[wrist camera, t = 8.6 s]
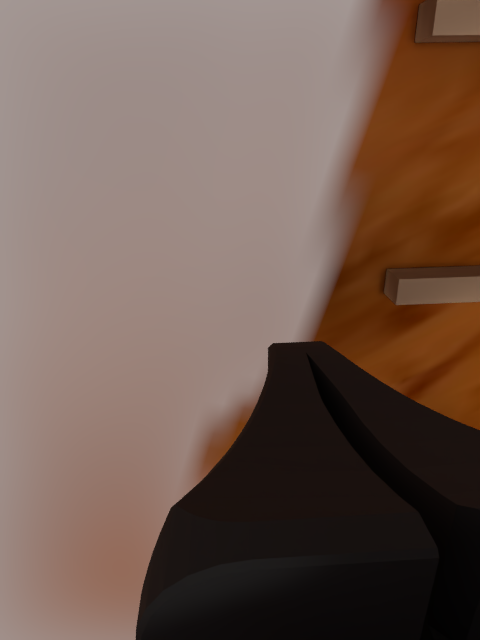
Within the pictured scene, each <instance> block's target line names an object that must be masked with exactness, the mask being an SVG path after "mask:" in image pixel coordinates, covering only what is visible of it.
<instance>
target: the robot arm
mask: <svg viewBox="0 0 480 640" xmlns="http://www.w3.org/2000/svg"><path fill="white" fill-rule="evenodd" d="M136 640H480V430H477V429H475V428H472V427H470V426H467V425H465V424H462V423H460V422H457V421H455V420H453V419H451V418H448V417H446V416H444V415H442V414H440V413H438V412H436V411H433V410H431V409H429V408H427V407H425V406H423V405H421V404H419V403H417V402H415V401H413V400H412V399H410V398H408V397H406V396H404V395H403V394H401V393H399V392H397V391H396V390H394V389H392V388H391V387H389V386H387V385H386V384H384V383H382V382H381V381H379V380H378V379H376V378H375V377H373V376H372V375H370V374H369V373H367V372H366V371H364V370H363V369H361V368H360V367H358V366H357V365H355V364H354V363H353V362H351V361H350V360H348V359H347V358H346V357H344V356H343V355H341V354H340V353H339V352H337V351H336V350H334V349H333V348H332V347H330V346H329V345H327V344H326V343H324V342H322V341H317V342H293V343H273V344H272V345H271V346H270V347H268V374H267V377H266V381H265V384H264V387H263V390H262V392H261V395H260V397H259V400H258V402H257V405H256V407H255V409H254V411H253V413H252V415H251V417H250V418H249V420H248V422H247V424H246V425H245V427H244V429H243V430H242V432H241V433H240V435H239V436H238V438H237V439H236V441H235V442H234V444H233V445H232V446H231V448H230V449H229V450H228V452H227V453H226V454H225V455H224V456H223V458H222V459H221V460H220V461H219V462H218V463H217V464H216V466H215V467H214V468H213V469H212V470H211V471H210V472H209V473H208V475H207V476H206V477H205V478H204V479H203V480H202V481H201V482H200V483H199V484H197V485H196V486H195V487H194V488H193V489H192V490H191V491H190V492H189V493H187V494H186V495H185V496H184V497H183V498H182V499H181V500H180V501H178V502H177V503H176V504H175V505H174V506H172V507H171V509H170V511H169V514H168V516H167V518H166V521H165V523H164V525H163V528H162V530H161V532H160V535H159V537H158V540H157V543H156V546H155V548H154V551H153V554H152V557H151V560H150V563H149V566H148V570H147V574H146V577H145V580H144V584H143V589H142V594H141V600H140V607H139V614H138V620H137V627H136Z"/></svg>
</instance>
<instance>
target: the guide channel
mask: <svg viewBox="0 0 480 640" xmlns="http://www.w3.org/2000/svg"><path fill="white" fill-rule="evenodd" d="M420 42H480V0H427V1H425V2H423V3H421V4H420V5H419V11H418V19H417V28H416V36H415V43H420ZM384 294H385V295H386V296H387V297H388V298H389V299H390V300H391V301H392V302H393V303H394V304H395V305H408V304H434V303H460V302H480V266H456V267H427V268H399V269H387V272H386V280H385V288H384Z"/></svg>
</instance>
